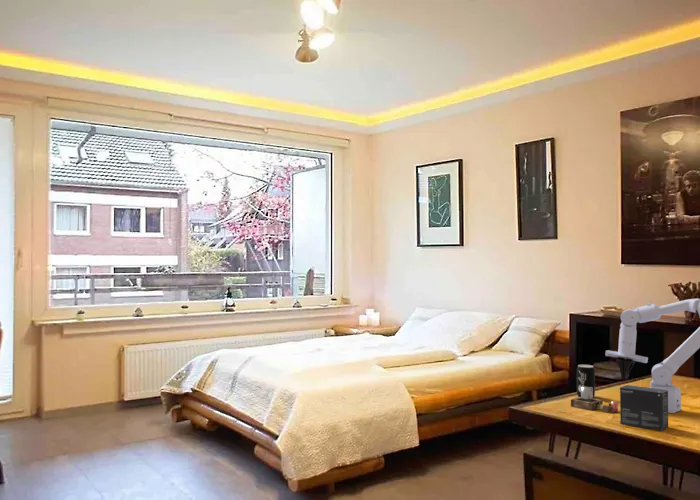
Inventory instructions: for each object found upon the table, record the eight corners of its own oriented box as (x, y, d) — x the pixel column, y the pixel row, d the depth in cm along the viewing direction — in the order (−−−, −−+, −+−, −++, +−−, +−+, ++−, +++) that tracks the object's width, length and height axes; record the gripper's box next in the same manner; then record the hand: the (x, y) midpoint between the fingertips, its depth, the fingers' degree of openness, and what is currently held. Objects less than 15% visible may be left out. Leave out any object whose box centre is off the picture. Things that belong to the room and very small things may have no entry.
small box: (669, 427, 196) (669, 389, 196) (663, 431, 190) (662, 393, 191) (626, 419, 204) (626, 384, 205) (619, 423, 199) (619, 387, 199)
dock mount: (616, 409, 218) (616, 402, 218) (606, 413, 213) (606, 406, 213) (581, 403, 228) (581, 396, 228) (570, 406, 223) (570, 399, 223)
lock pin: (619, 412, 215) (619, 401, 215) (616, 413, 213) (616, 402, 213) (594, 407, 221) (594, 397, 221) (591, 408, 220) (591, 398, 220)
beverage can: (596, 398, 235) (596, 367, 236) (578, 397, 237) (578, 366, 237) (593, 394, 242) (592, 364, 242) (575, 394, 243) (575, 364, 243)
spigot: (594, 407, 222) (594, 387, 222) (588, 408, 220) (588, 389, 220) (585, 404, 225) (585, 385, 225) (578, 406, 223) (578, 387, 223)
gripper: (603, 339, 227) (600, 375, 227) (643, 346, 216) (640, 384, 217) (611, 338, 232) (608, 373, 232) (651, 344, 221) (648, 382, 222)
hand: (624, 378), depth 225 cm, fingers closed
